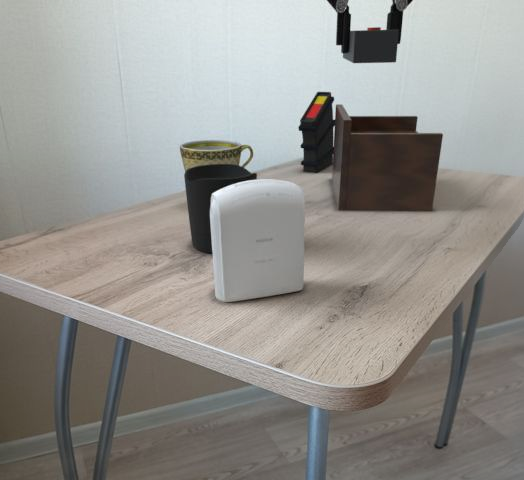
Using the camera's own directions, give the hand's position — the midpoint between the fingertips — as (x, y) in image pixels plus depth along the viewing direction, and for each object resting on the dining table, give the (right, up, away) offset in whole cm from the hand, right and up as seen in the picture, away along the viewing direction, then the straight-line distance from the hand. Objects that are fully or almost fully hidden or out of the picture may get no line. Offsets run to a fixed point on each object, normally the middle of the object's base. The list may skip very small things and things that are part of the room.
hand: (367, 50), depth 64 cm
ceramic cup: (-19, -10, +31) cm, 38 cm away
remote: (0, -1, 0) cm, 1 cm away
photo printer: (-13, -29, -2) cm, 31 cm away
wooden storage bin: (+9, -7, +36) cm, 38 cm away
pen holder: (-18, -21, +12) cm, 30 cm away
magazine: (0, +4, +56) cm, 56 cm away
